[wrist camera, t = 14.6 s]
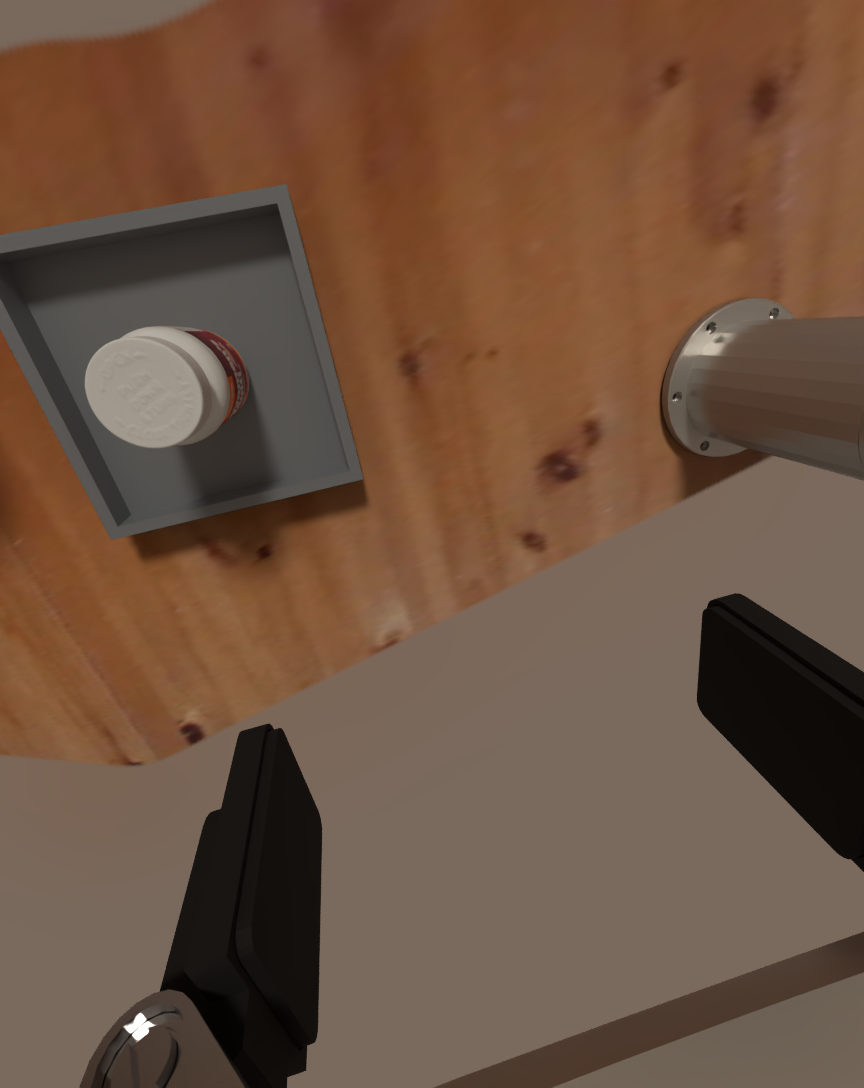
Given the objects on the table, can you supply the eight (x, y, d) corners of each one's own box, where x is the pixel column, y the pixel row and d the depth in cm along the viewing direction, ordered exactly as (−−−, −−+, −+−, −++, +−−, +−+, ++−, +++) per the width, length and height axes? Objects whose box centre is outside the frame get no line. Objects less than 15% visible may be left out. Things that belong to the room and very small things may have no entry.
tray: (290, 197, 31) (286, 184, 28) (361, 468, 38) (363, 479, 35) (-9, 251, 29) (-46, 243, 26) (127, 524, 36) (111, 539, 34)
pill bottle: (263, 409, 35) (237, 441, 24) (178, 432, 34) (114, 475, 24) (228, 316, 32) (181, 309, 22) (135, 340, 31) (42, 344, 21)
